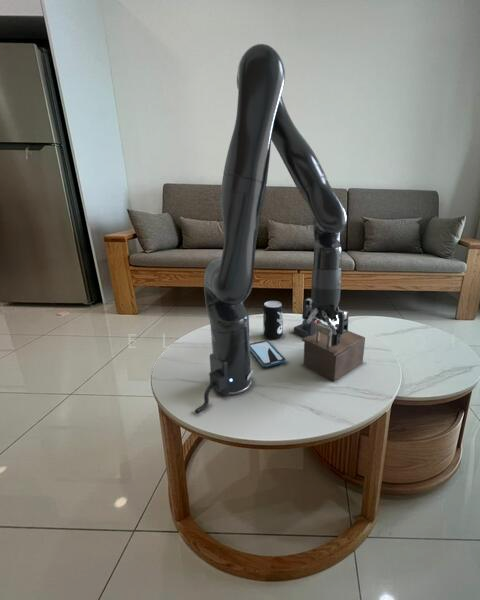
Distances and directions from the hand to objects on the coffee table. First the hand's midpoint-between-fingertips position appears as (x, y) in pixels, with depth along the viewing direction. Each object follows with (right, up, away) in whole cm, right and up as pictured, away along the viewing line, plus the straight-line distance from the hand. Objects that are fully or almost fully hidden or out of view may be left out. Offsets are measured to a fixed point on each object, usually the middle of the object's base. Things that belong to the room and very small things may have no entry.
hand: (323, 340), depth 88 cm
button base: (-3, 0, +27) cm, 27 cm away
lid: (+3, -1, +4) cm, 5 cm away
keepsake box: (+3, -8, +7) cm, 11 cm away
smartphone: (-17, -6, +11) cm, 21 cm away
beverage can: (-16, -2, +23) cm, 28 cm away
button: (-3, +3, +26) cm, 26 cm away
